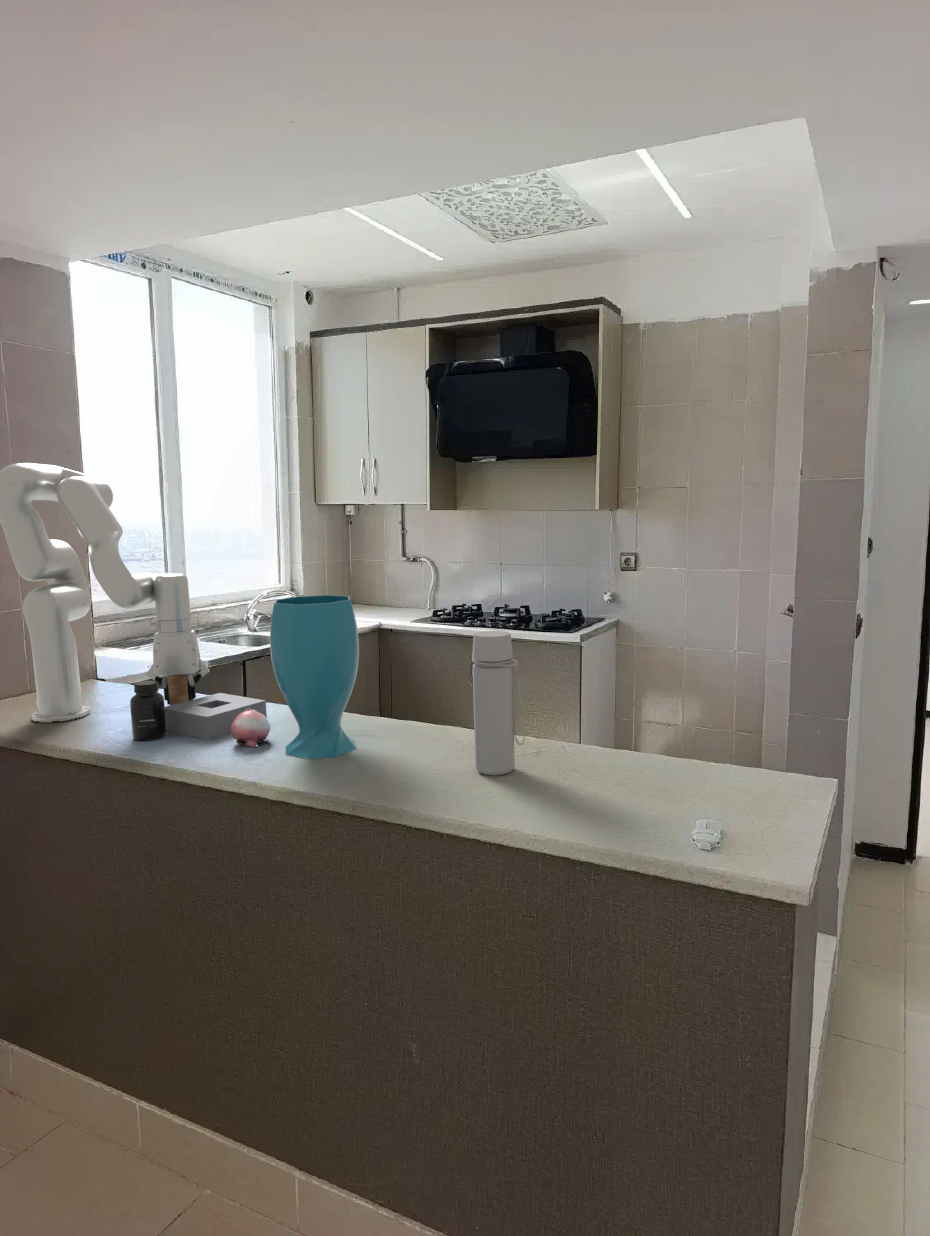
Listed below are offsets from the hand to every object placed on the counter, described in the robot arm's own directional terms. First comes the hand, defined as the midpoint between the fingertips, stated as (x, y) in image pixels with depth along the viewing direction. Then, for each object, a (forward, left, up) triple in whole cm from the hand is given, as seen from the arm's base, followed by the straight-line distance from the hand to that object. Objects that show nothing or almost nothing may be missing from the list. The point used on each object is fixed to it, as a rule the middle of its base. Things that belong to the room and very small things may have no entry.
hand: (180, 701), depth 191 cm
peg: (0, 0, -3) cm, 3 cm away
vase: (+48, -2, -4) cm, 48 cm away
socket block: (+15, -2, -3) cm, 15 cm away
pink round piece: (+33, -7, -4) cm, 34 cm away
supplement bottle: (+10, -15, -4) cm, 18 cm away
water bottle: (+87, +4, -4) cm, 87 cm away
